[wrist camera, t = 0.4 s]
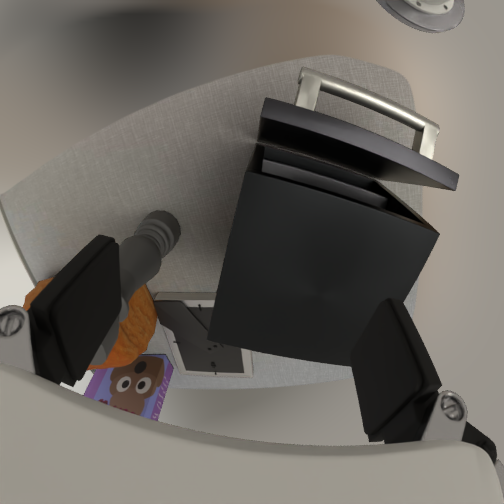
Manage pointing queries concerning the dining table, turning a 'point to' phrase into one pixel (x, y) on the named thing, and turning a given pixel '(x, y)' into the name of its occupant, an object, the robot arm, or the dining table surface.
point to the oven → (313, 258)
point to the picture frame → (198, 337)
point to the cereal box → (134, 385)
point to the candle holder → (140, 266)
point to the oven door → (354, 134)
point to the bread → (122, 327)
